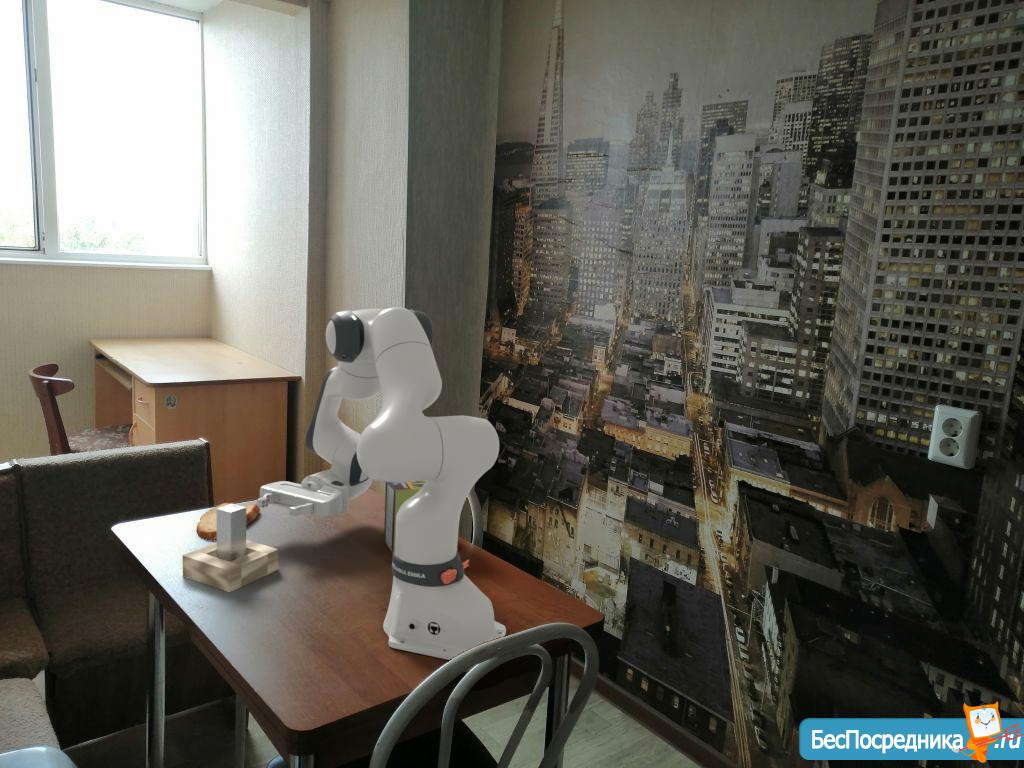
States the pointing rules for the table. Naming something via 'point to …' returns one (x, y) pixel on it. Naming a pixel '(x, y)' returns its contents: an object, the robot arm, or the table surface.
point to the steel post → (231, 532)
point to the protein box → (397, 506)
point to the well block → (230, 566)
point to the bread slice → (209, 521)
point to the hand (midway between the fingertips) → (275, 507)
